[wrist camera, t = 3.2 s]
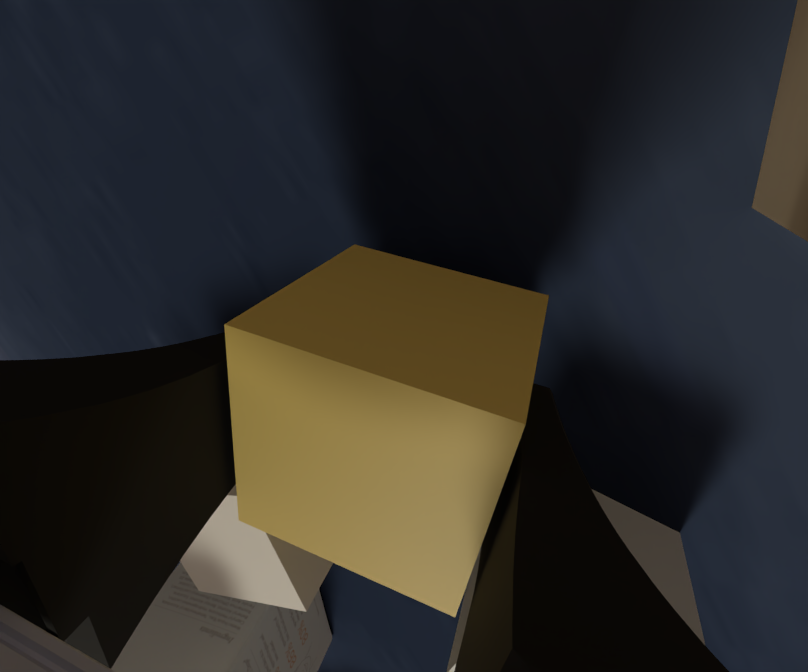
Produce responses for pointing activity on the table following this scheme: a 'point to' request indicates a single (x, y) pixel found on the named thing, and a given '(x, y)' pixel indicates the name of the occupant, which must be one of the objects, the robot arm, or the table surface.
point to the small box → (223, 634)
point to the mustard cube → (382, 415)
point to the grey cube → (650, 548)
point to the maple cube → (788, 138)
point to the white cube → (252, 562)
